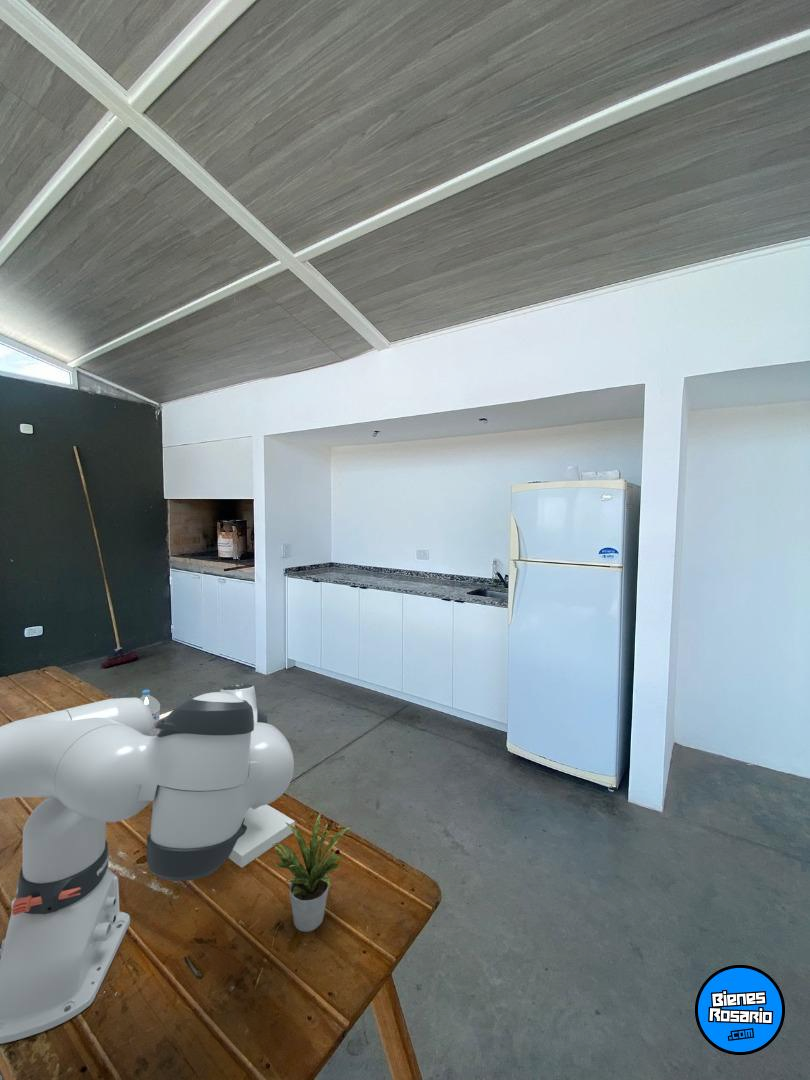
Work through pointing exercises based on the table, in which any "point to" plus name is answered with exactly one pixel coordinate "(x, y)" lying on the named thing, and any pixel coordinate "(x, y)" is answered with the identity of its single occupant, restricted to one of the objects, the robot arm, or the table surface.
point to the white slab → (260, 833)
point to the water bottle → (152, 709)
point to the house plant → (309, 876)
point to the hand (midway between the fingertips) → (234, 810)
